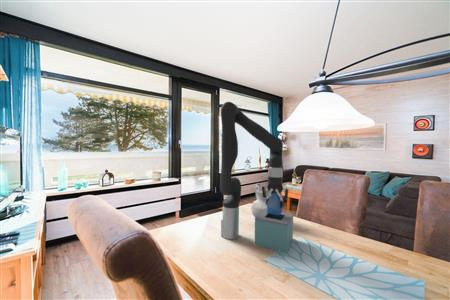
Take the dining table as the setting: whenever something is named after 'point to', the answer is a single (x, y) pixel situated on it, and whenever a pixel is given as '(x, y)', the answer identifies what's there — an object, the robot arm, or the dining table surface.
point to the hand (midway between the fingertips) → (274, 206)
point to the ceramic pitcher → (259, 201)
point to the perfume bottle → (274, 204)
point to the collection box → (274, 230)
